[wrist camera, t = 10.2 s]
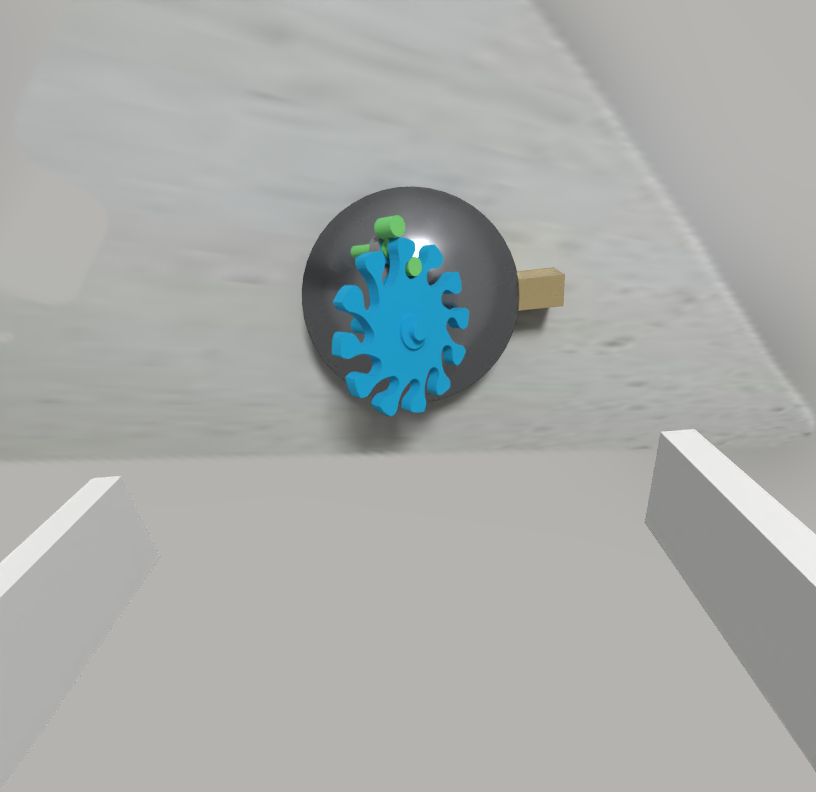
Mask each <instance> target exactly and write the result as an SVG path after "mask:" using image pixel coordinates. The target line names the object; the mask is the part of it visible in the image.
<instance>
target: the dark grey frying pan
mask: <svg viewBox="0 0 816 792" xmlns="http://www.w3.org/2000/svg"><path fill="white" fill-rule="evenodd" d="M395 215H399V216H401V217H402V218H403V220H404V222H405V231H404V233H403V235H402V236H399V237H403V238H408V239H410V240H412V241H413V242H414V243H415V253H414V255H413V257H418V252H419V250H420V248H421V247H422V246H424V245H432V244H435V246H436V247H437V248H438V249H439V250H440V251H441V253H442V255H443V258H444V260H443V263H442V265H441V266H440V267H439V268H433V269H430V270H429V271H428V273H427V282H428V284H429V285H430V286H431V285H433V284H435V283H436V282H437V281H438V280H439V278H440V277H441V275H442V274H443V273H444V272H459V275H460V279H461V285H462V290H461V291H460V292H459V293H458V294H444V293H443V294H442V297H441V301H442V304H443V306H444V307H446V308H448V309H449V310H450V309H452V308H467V309H468V310H469V319H468V325H467V328H465V329H458V328H452V327H450V326H449V324H448V322H447V324H446V329H447V332H448V334H449V336H450V337H451V339H452V340H453V341H454V342H455V343H456V344H458V345H462V346H464V348H465V350H466V353H465V355H464V358H463V360H462V361H461V363H460V364H459V365H452V364H447V363H446V362H445V361H444V358H443V349H442V353H441V358H442V366H443V370H444V372H445V374H446V376H447V377H448V378H449V380H450V388H449V389H448V390H447V391H446V392H445V393H443V394H442V395H435V394H431V393H429V392H428V390H427V382H428V378H429V375H430V370H429V372H428V375H427V379H426V383H425V398H426V402H430V401H435V400H439V399H442V398H446V397H448V396H451V395H453V394H456V393H458V392H460V391H462V390H464V389H465V388H467V387H469V386H470V385H472V384H473V383H475V382H476V381H477V380H479V379H480V378H481V377H482V376H483V375H484V374H485V373H487V372H488V371H489V370H490V369H491V367H492V366H493V365H494V364H495V363H496V361H497V360H498V359H499V357H500V356H501V354H502V353H503V351H504V350H505V348H506V346H507V344H508V342H509V340H510V338H511V336H512V333H513V330H514V327H515V324H516V320H517V315H518V311H520V310H530V309H539V308H549V307H558V306H563V303H564V281H565V274H563V273H562V272H560V271H558V270H556V269H555V268H545V269H536V270H527V271H518V272H517V271H516V266H515V263H514V260H513V258H512V255H511V252H510V250H509V248H508V246H507V244H506V242H505V240H504V239H503V237H502V236H501V234H500V233H499V232H498V230H497V229H496V227H495V226H494V225H493V224H492V223H491V222H490V221H489V220H488V219H487V218H486V217H485V216H484V215H483V214H482V213H481V212H479V211H478V210H477V209H476V208H474V207H473V206H472V205H470V204H468V203H467V202H465V201H463V200H461V199H460V198H458V197H455V196H453V195H450V194H448V193H445V192H442V191H438V190H434V189H430V188H422V187H398V188H392V189H387V190H382V191H379V192H376V193H374V194H371V195H368V196H366V197H364V198H362V199H360V200H358V201H356V202H354V203H353V204H351V205H350V206H348V207H347V208H346V209H344V210H343V211H341V212H340V213H339V214H338V215H337V216H336V217H335V218H334V219H333V220H332V221H331V222H330V223H329V224H328V225H327V227H326V228H325V229H324V231H323V232H322V233H321V234H320V236H319V238H318V239H317V241H316V243H315V245H314V246H313V248H312V251H311V253H310V256H309V258H308V261H307V264H306V268H305V272H304V276H303V285H302V306H303V313H304V319H305V322H306V326H307V329H308V332H309V335H310V337H311V339H312V341H313V344H314V346H315V347H316V349H317V351H318V352H319V354H320V356H321V357H322V358H323V360H324V361H325V362H326V363H327V365H328V366H329V367H330V368H331V369H332V370H333V371H334V372H335V373H336V374H337V375H338V376H339V377H340V378H342V379H343V380H344V381H345V382H346V376H347V375H348V374H349V373H350V372H353V371H356V372H360V373H365V374H367V373H369V372H370V371H371V369H372V365H373V363H372V359H371V358H370V357H369V356H367V355H365V354H359V355H356V356H354V357H352V358H350V359H345V358H340V357H336V356H334V355H332V340H333V336H334V333H335V332H347V333H352V334H354V335H355V336H356V337H357V339H358V340H359V342H360V343H362V342H363V340H364V338H365V334H359V333H354V332H353V331H352V330H351V327H350V324H351V321H352V319H354V318H355V317H354V316H352V315H351V314H349V313H346V312H343V311H339V310H338V309H337V308H336V307H335V306H334V304H333V301H334V299H335V296H336V295H337V293H338V291H339V290H340V289H341V288H342V287H343V286H344V285H355V286H357V287H359V288H360V290H361V291H362V294H363V299H364V306H365V309H366V310H368V309H369V306H370V297H369V290H368V286H367V284H366V281H365V279H364V278H363V276H362V275H361V274H360V272H359V271H358V270H357V268H356V265H355V258H353V257H352V255H351V248H352V247H353V246H358V245H366V244H370V241H371V239H372V238H373V237H374V236H375V235H376V233H375V230H374V225H375V222H376V220H377V219H379V218H384V217H390V216H395ZM395 238H396V237H395ZM389 384H390V379H389V377H387V378H385V379H382V380H381V381H379V382H378V383H377V384H376V385H375V386H374V388H373V389H372V390H371V392H370V394H369V395H370V396H373V397H374V396H375V395H376V394H378V393H380V392H383V391H385V390H387V389H388V387H389ZM410 386H411V382H409V383H408V384H407V386H406V387H405V388H404V390H403V392H402V393H401V396H400V399H399V403H402V399H403V397H404V396H405V395H406V393H407V392H408V391H409V389H410Z"/></svg>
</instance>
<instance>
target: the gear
mask: <svg viewBox="0 0 816 792" xmlns="http://www.w3.org/2000/svg"><path fill="white" fill-rule="evenodd" d="M374 230H375V233H376V235H375V236H374V237H373V238H372V239H371V241H370V244H366V245H358V246H353V247H352V248H351V255H352V257H353V258H355V265H356V268H357V270H358V271H359V272H360V274H361V275H362V276H363V278H364V279H365V281H366V284H367V286H368V290H369V297H370V306H369V309H368V310H366V309H365V306H364V299H363V294H362V291H361V290H360V288H359V287H357V286H355V285H344V286H343V287H342V288H341V289H340V290H339V291H338V293H337V295H336V296H335V299H334V301H333V304H334V306H335V307H336V308H337V309H338V310H339V311H343V312H346V313H349V314H351V315H352V316H354V317H355V318H354V319H352V321H351V324H350V327H351V330H352V331H353V332H354V333H359V334H365V338H364V340H363V342H362V343H360V342H359V340H358V339H357V337H356V336H355V335H354V334H352V333H347V332H335V333H334V336H333V340H332V355H334V356H336V357H340V358H345V359H350V358H352V357H354V356H356V355H359V354H365V355H367V356H369V357H370V358H371V359H372V363H373V365H372V369H371V371H370V372H369V373H367V374H365V373H360V372H356V371H353V372H350V373H349V374H348V375H347V376H346V384H347V387H348V390H349V392H350V394H351V395H352V396H356V397H359V398H364V397H366V396H368V395H369V394H370V392H371V390H372V389H373V388H374V386H375V385H376V384H377V383H378V382H379V381H381V380H382V379H385V378H387V377H389V379H390V384H389V387H388V389H387V390H385V391H383V392H380V393H378V394H376V395H375V396H374V398H373V399H372V403H371V405H372V406H373V408H374V409H375V410H377V411H378V412H380V413H382V414H385V415H388V416H391V417H392V416H393V415H394V414H395V413H396V411H397V409H398V403H399V399H400V396H401V393H402V392H403V390H404V388H405V387H406V386H407V384H408V383H409V382H411V386H410V389H409V391H408V392H407V393H406V395H405V396H404V397H403V399H402V403H401V406H402V409H404V410H408V411H411V412H416V413H418V412H424V411H425V408H426V398H425V383H426V379H427V375H428V372H429V370H430V375H429V378H428V382H427V390H428V392H429V393H431V394H435V395H442V394H443V393H445V392H446V391H447V390H448V389H449V388H450V380H449V378H448V377H447V376H446V374H445V372H444V370H443V366H442V358H441V353H442V349H443V358H444V361H445V362H446V363H447V364H452V365H459V364H460V363H461V361H462V360H463V358H464V355H465V353H466V350H465V348H464V346H462V345H458V344H456V343H455V342H454V341H453V340H452V339H451V337H450V336H449V334H448V332H447V329H446V324H447V322H448V324H449V326H450V327H452V328H458V329H465V328H467V325H468V319H469V310H468V309H467V308H452V309H450V310H449V309H448V308H446V307H444V306H443V304H442V301H441V297H442V294H443V293H444V294H458V293H459V292H460V291H461V290H462V285H461V279H460V275H459V272H444V273H443V274H442V275H441V277H440V278H439V280H438V281H437V282H436V283H435V284H433V285H431V286H430V285H429V284H428V282H427V273H428V271H429V270H430V269H433V268H439V267H440V266H441V265H442V263H443V260H444V258H443V255H442V253H441V251H440V250H439V249H438V248H437V247H436V246H435V244H432V245H424V246H422V247H421V248H420V250H419V252H418V257H413V255H414V253H415V243H414V242H413V241H412V240H410V239H408V238H403V237H399V236H402V235H403V233H404V231H405V222H404V220H403V218H402V217H401V216H399V215H395V216H390V217H384V218H379V219H377V220H376V222H375V225H374ZM395 237H396V238H395Z"/></svg>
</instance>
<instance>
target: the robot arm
mask: <svg viewBox="0 0 816 792" xmlns="http://www.w3.org/2000/svg"><path fill="white" fill-rule="evenodd" d="M645 524H646V525H647V527H648V528H649V530H650V531H651V532H652V534H653V535H654V537H655V538H656V540H657V541H658V543H659V544H660V546H661V547H662V548H663V550H664V551H665V553H666V554H667V556H668V557H669V559H670V560H671V561H672V563H673V564H674V566H675V567H676V569H677V570H678V571H679V573H680V575H681V576H682V578H683V579H684V580H685V582H686V583H687V585H688V586H689V588H690V589H691V591H692V592H693V594H694V595H695V596H696V598H697V599H698V601H699V602H700V604H701V605H702V607H703V608H704V609H705V611H706V612H707V614H708V615H709V617H710V618H711V620H712V621H713V623H714V624H715V626H716V627H717V629H718V630H719V631H720V633H721V634H722V636H723V637H724V639H725V640H726V641H727V643H728V645H729V646H730V647H731V649H732V650H733V652H734V653H735V655H736V656H737V658H738V659H739V661H740V662H741V663H742V665H743V666H744V667H745V669H746V671H747V672H748V674H749V675H750V676H751V678H752V679H753V681H754V682H755V684H756V685H757V687H758V688H759V690H760V691H761V692H762V694H763V695H764V697H765V698H766V700H767V701H768V703H769V704H770V706H771V707H772V708H773V710H774V712H775V713H776V714H777V716H778V717H779V719H780V720H781V722H782V723H783V725H784V726H785V728H786V729H787V730H788V732H789V733H790V735H791V736H792V738H793V739H794V741H795V742H796V744H797V745H798V746H799V748H800V749H801V751H802V752H803V754H804V755H805V757H806V758H807V760H808V761H809V762H810V764H811V765H812V767H813V768H814V770H815V771H816V534H814V533H813V532H812V531H811V530H810V529H808V528H807V527H806V526H805V525H804V524H803V523H802V522H801V521H799V520H798V519H797V518H796V517H795V516H793V515H792V514H791V513H790V512H789V511H788V510H787V509H786V508H784V507H783V506H782V505H781V504H780V503H779V502H777V501H776V500H775V499H774V498H773V497H772V496H771V495H770V494H768V493H767V492H766V491H765V490H764V489H762V488H761V487H760V486H759V485H758V484H757V483H756V482H754V481H753V480H752V479H751V478H750V477H749V476H748V475H746V474H745V473H744V472H743V471H742V470H741V469H739V468H738V467H737V466H736V465H735V464H734V463H733V462H732V461H730V460H729V459H728V458H727V457H726V456H725V455H723V454H722V453H721V452H720V451H719V450H718V449H717V448H715V447H714V446H713V445H712V444H711V443H710V442H708V441H707V440H706V439H705V438H704V437H703V436H702V435H700V434H699V433H698V432H697V431H696V430H695V429H691V430H679V431H667V432H661V433H660V438H659V444H658V450H657V456H656V461H655V467H654V473H653V479H652V484H651V490H650V496H649V502H648V507H647V513H646V519H645ZM159 558H160V555H159V553H158V551H157V549H156V547H155V545H154V543H153V541H152V539H151V536H150V534H149V532H148V530H147V528H146V526H145V524H144V522H143V520H142V518H141V515H140V513H139V511H138V509H137V507H136V505H135V503H134V501H133V499H132V497H131V494H130V492H129V491H128V488H127V486H126V484H125V482H124V480H123V478H122V476H116V477H103V478H92V479H91V480H90V481H89V482H88V483H87V484H86V485H85V486H84V487H82V489H80V490H79V491H78V492H77V493H76V494H75V495H74V496H73V497H72V498H70V499H69V500H68V501H67V502H66V503H65V504H64V505H63V506H62V507H61V508H60V509H58V511H56V512H55V513H54V514H53V515H52V516H51V517H50V518H49V519H48V520H46V521H45V522H44V523H43V524H42V525H41V526H40V527H39V528H38V529H37V530H36V531H34V532H33V533H32V534H31V535H30V536H29V537H28V538H27V539H26V540H25V541H24V542H23V543H21V544H20V545H19V546H18V547H17V548H16V549H15V550H14V551H13V552H12V553H11V554H9V555H8V556H7V557H6V558H5V559H4V560H3V561H2V562H1V563H0V792H1V791H2V790H3V788H4V787H5V786H6V784H7V783H8V781H9V779H10V778H11V777H12V775H13V774H14V772H15V771H16V769H17V768H18V766H19V765H20V763H21V762H22V760H23V759H24V758H25V756H26V755H27V753H28V751H29V750H30V748H31V747H32V746H33V744H34V743H35V741H36V740H37V738H38V737H39V735H40V734H41V732H42V731H43V729H44V728H45V727H46V725H47V724H48V722H49V721H50V719H51V718H52V716H53V715H54V713H55V712H56V710H57V709H58V707H59V706H60V704H61V703H62V701H63V700H64V698H65V697H66V696H67V694H68V692H69V691H70V690H71V688H72V687H73V685H74V684H75V682H76V681H77V679H78V678H79V676H80V675H81V673H82V672H83V670H84V669H85V667H86V666H87V664H88V663H89V661H90V660H91V659H92V657H93V656H94V654H95V653H96V651H97V649H98V648H99V647H100V645H101V644H102V642H103V641H104V639H105V638H106V636H107V635H108V633H109V632H110V631H111V629H112V627H113V626H114V625H115V623H116V622H117V620H118V619H119V617H120V615H121V614H122V613H123V611H124V610H125V608H126V607H127V605H128V604H129V602H130V601H131V600H132V598H133V597H134V595H135V593H136V592H137V591H138V589H139V588H140V586H141V585H142V583H143V582H144V580H145V579H146V577H147V576H148V574H149V573H150V571H151V570H152V569H153V567H154V566H155V564H156V563H157V561H158V560H159Z"/></svg>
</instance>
